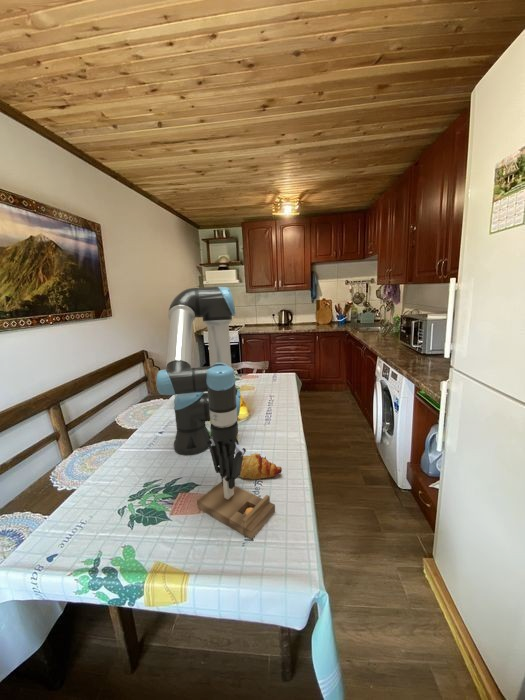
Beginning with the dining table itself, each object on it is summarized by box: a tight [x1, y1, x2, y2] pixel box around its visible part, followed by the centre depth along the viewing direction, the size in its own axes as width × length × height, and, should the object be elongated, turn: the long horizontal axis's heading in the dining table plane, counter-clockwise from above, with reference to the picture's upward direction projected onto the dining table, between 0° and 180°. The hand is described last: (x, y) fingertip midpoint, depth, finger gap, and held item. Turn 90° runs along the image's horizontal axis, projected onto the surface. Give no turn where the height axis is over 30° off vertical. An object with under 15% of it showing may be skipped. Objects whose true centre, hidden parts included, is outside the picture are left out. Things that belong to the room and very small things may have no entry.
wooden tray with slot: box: [196, 480, 276, 540], centre depth 82 cm, size 20×11×4 cm, turn 55°
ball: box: [244, 508, 253, 516], centre depth 79 cm, size 3×3×3 cm
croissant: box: [239, 452, 283, 480], centre depth 99 cm, size 21×10×8 cm, turn 75°
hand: (229, 495), depth 84 cm, fingers closed
